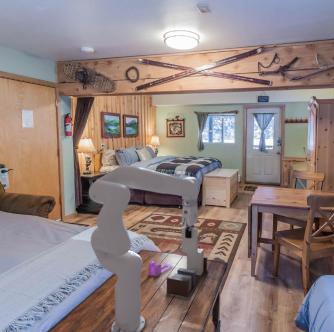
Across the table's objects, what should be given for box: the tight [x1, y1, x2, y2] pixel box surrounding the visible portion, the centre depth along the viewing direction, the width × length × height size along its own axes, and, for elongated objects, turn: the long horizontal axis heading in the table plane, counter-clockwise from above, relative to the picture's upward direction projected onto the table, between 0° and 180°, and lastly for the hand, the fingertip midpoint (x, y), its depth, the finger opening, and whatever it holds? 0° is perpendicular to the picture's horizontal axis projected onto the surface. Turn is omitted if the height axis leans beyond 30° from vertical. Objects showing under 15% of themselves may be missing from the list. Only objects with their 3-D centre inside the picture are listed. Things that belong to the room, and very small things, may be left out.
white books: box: [186, 248, 205, 275], centre depth 148 cm, size 4×8×13 cm, turn 76°
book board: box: [166, 255, 208, 298], centre depth 140 cm, size 26×11×9 cm, turn 166°
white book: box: [180, 226, 199, 254], centre depth 138 cm, size 2×8×13 cm, turn 76°
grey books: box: [171, 267, 196, 291], centre depth 134 cm, size 10×9×7 cm
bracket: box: [148, 260, 172, 277], centre depth 151 cm, size 13×6×7 cm, turn 149°
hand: (189, 236), depth 138 cm, fingers closed on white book, 2 cm apart
